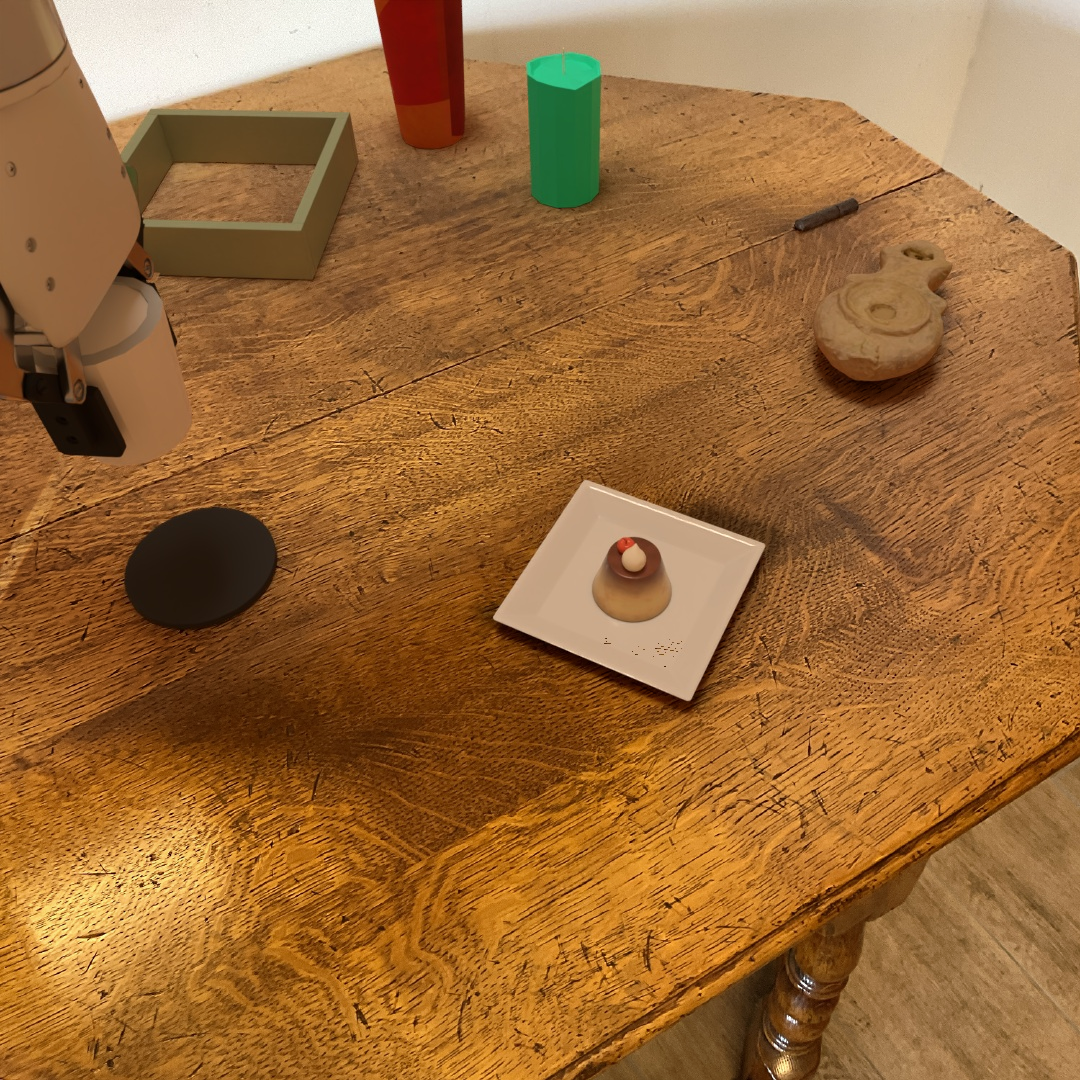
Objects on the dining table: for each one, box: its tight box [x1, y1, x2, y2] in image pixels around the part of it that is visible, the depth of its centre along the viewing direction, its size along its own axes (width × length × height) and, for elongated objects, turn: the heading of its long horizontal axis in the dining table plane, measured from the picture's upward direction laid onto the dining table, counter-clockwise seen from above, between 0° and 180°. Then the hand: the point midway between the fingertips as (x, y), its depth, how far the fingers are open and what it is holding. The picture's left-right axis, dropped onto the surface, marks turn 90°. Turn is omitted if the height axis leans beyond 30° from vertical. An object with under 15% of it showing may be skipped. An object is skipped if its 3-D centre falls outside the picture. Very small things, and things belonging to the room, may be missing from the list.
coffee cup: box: [373, 0, 466, 150], centre depth 87 cm, size 8×8×15 cm
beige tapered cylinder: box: [23, 276, 193, 467], centre depth 49 cm, size 7×7×7 cm
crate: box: [120, 108, 359, 281], centre depth 84 cm, size 18×18×4 cm
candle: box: [526, 47, 602, 209], centre depth 82 cm, size 6×6×12 cm
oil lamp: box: [812, 239, 953, 382], centre depth 71 cm, size 11×14×5 cm
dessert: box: [492, 479, 766, 702], centre depth 57 cm, size 12×12×5 cm
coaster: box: [123, 506, 278, 631], centre depth 60 cm, size 9×9×1 cm
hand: (121, 395), depth 50 cm, fingers closed on beige tapered cylinder, 6 cm apart
